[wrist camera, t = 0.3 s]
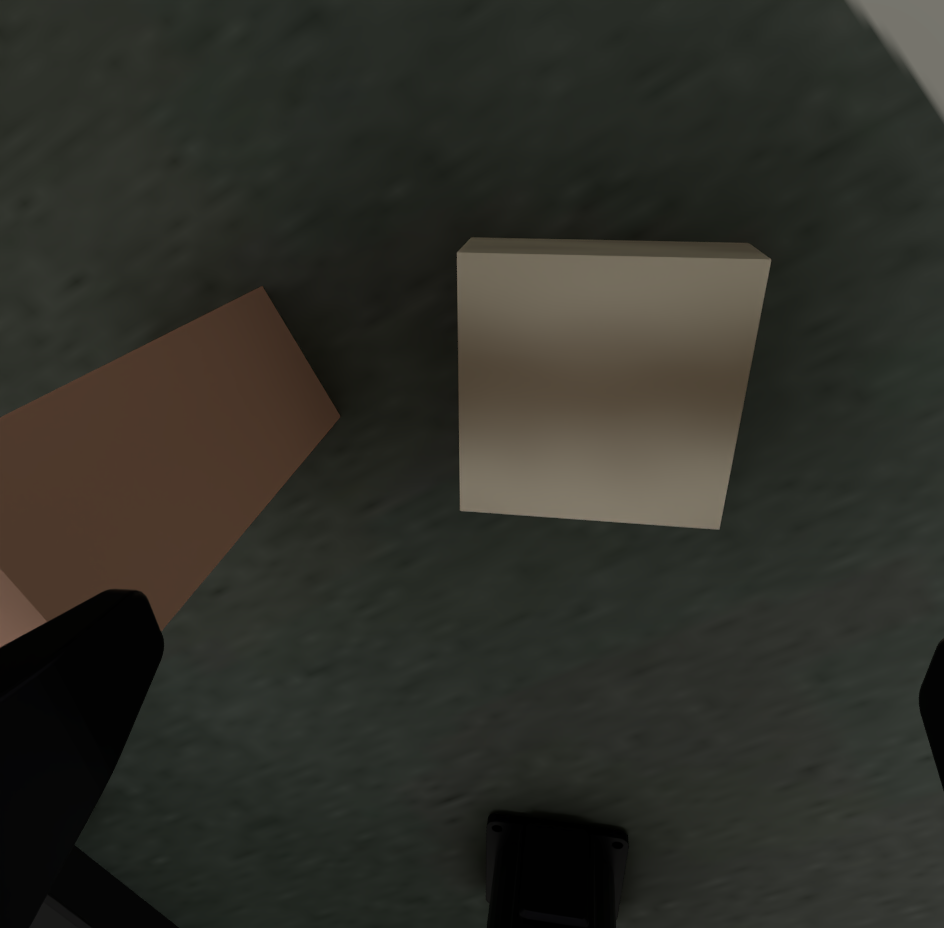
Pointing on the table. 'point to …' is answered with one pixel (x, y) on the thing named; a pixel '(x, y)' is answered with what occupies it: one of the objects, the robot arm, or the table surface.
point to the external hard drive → (94, 900)
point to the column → (153, 464)
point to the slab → (604, 376)
